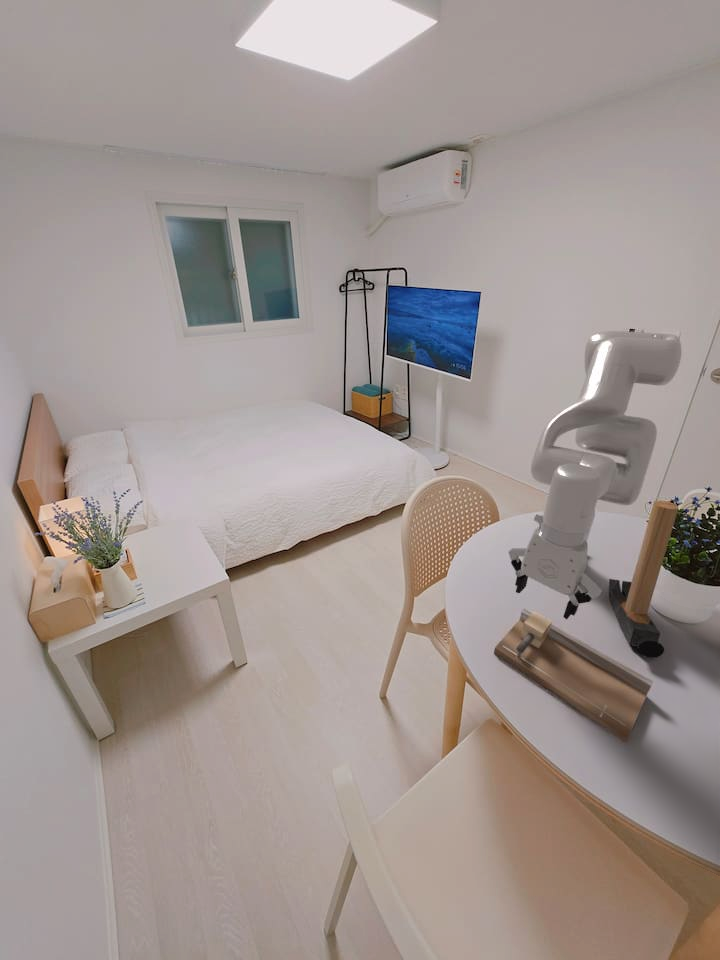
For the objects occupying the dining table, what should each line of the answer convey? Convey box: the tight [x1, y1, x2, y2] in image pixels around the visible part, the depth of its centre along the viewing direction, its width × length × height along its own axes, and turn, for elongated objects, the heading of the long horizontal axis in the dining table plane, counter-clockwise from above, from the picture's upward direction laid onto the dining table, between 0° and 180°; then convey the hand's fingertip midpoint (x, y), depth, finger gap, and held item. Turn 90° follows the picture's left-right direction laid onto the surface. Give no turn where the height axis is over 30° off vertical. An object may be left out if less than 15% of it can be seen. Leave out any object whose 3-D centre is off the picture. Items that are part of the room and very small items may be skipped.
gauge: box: [517, 611, 553, 657], centre depth 83 cm, size 9×4×4 cm, turn 134°
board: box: [493, 608, 654, 743], centre depth 79 cm, size 12×25×4 cm, turn 44°
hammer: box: [608, 500, 679, 659], centre depth 86 cm, size 20×5×30 cm, turn 165°
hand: (543, 601), depth 80 cm, fingers open, 9 cm apart
